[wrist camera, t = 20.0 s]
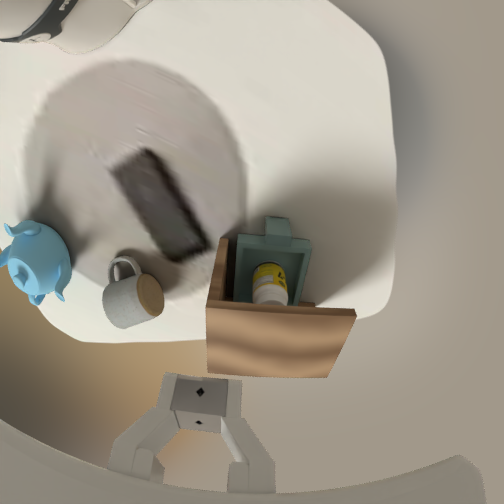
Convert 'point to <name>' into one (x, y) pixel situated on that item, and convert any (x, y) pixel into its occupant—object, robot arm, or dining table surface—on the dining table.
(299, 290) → the tray
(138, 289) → the ceramic mug
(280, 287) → the supplement bottle
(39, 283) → the teapot
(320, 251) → the dining table surface
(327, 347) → the open wooden box
